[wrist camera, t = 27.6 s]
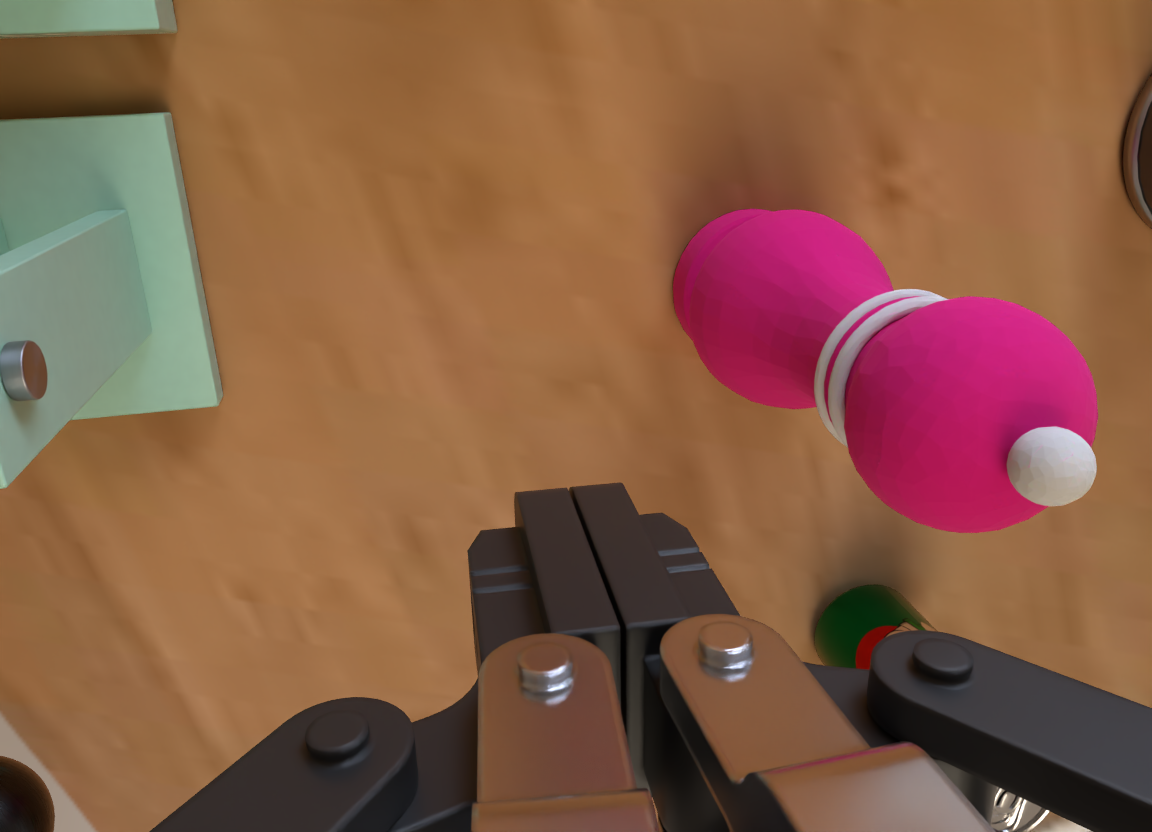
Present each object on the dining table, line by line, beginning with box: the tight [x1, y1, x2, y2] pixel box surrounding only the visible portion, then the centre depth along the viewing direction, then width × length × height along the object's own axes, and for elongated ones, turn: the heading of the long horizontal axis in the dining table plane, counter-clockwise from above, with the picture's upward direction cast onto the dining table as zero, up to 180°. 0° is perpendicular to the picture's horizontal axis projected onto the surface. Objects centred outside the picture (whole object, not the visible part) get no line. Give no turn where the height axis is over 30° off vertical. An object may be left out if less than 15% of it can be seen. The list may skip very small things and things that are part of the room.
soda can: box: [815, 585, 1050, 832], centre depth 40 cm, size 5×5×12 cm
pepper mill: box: [673, 209, 1098, 533], centre depth 29 cm, size 7×7×20 cm
